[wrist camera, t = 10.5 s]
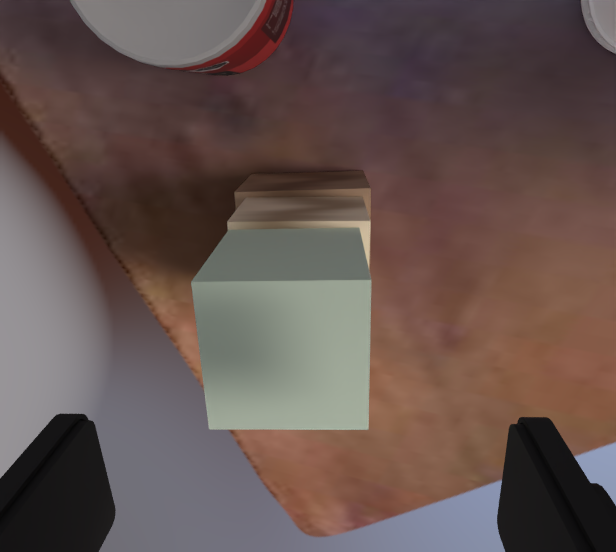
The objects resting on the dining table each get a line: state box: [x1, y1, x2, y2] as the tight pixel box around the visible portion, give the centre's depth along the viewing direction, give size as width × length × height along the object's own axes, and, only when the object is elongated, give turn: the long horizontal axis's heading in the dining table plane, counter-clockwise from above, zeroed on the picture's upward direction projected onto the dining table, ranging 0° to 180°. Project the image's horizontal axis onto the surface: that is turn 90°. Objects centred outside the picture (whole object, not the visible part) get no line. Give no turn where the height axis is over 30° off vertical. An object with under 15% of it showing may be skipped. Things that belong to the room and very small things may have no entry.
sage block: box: [191, 228, 371, 430], centre depth 18 cm, size 6×6×6 cm
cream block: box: [234, 171, 371, 272], centre depth 29 cm, size 7×7×6 cm
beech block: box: [227, 197, 371, 267], centre depth 24 cm, size 6×6×5 cm
